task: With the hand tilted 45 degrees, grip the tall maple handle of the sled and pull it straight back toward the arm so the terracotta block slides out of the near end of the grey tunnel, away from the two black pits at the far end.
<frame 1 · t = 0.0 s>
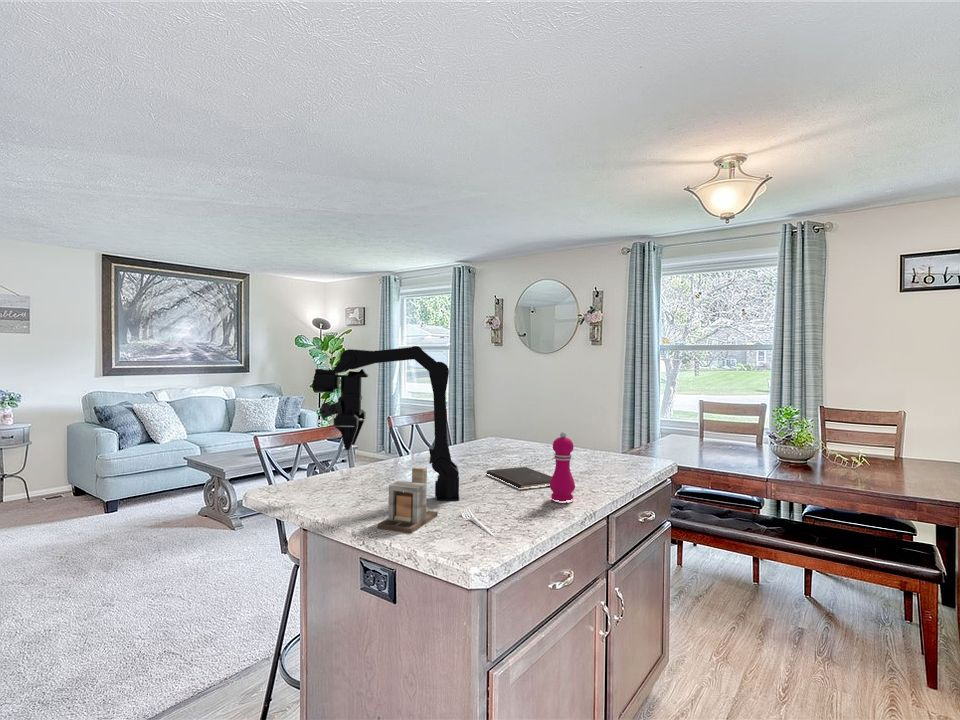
hand: (349, 447, 147), 15 cm above the worktop, tool pointing down, fingers open, 9 cm apart
sled: (412, 492, 129), point 7 cm above the worktop, slide at 0.0 cm
tunnel: (407, 522, 126), on the worktop
pepper mill: (562, 501, 149), on the worktop
fork: (479, 527, 126), on the worktop
hardcover book: (522, 482, 174), on the worktop
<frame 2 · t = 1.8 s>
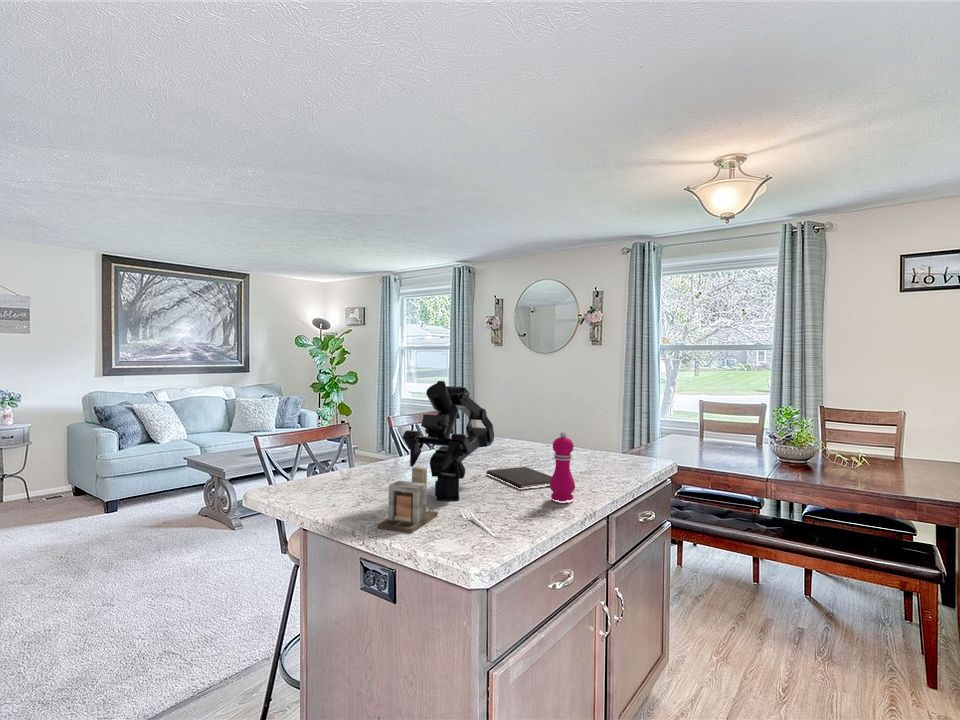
hand: (426, 467, 137), 11 cm above the worktop, tool tilted 45°, fingers open, 9 cm apart
nothing on the worktop moved.
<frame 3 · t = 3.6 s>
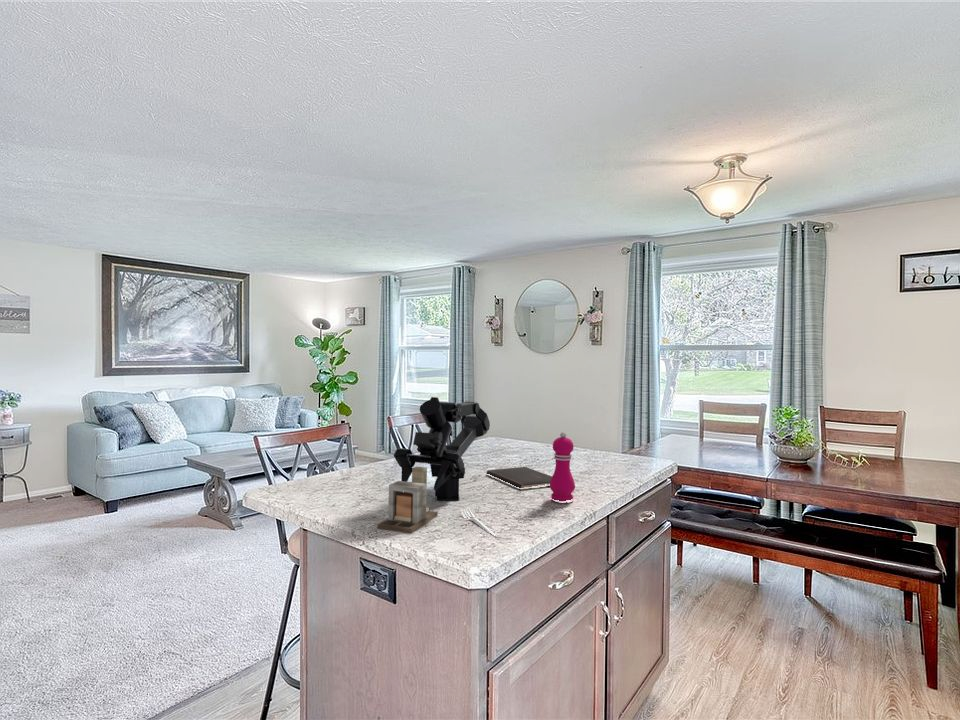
hand: (418, 487, 132), 7 cm above the worktop, tool tilted 45°, fingers open, 9 cm apart
nothing on the worktop moved.
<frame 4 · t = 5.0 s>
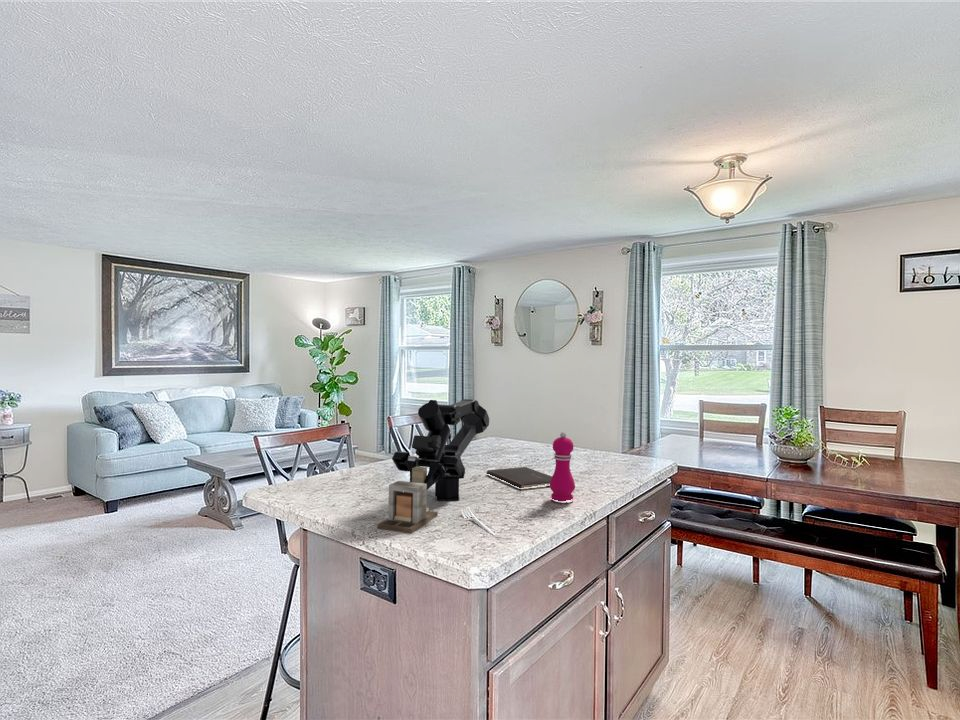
hand: (416, 491, 131), 7 cm above the worktop, tool tilted 45°, fingers closed on sled, 3 cm apart
sled: (412, 492, 129), point 7 cm above the worktop, slide at 0.0 cm, touching gripper
everything else where it was.
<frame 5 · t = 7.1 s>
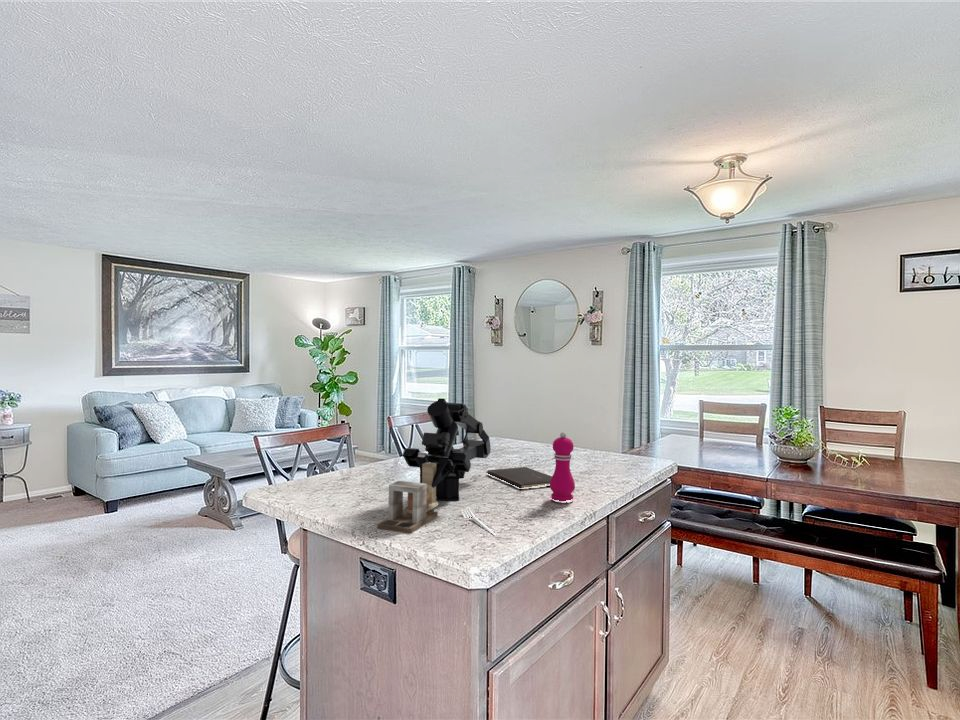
hand: (426, 486, 137), 7 cm above the worktop, tool tilted 45°, fingers closed on sled, 3 cm apart
sled: (422, 487, 134), point 7 cm above the worktop, slide at 5.9 cm, touching gripper
everything else where it was.
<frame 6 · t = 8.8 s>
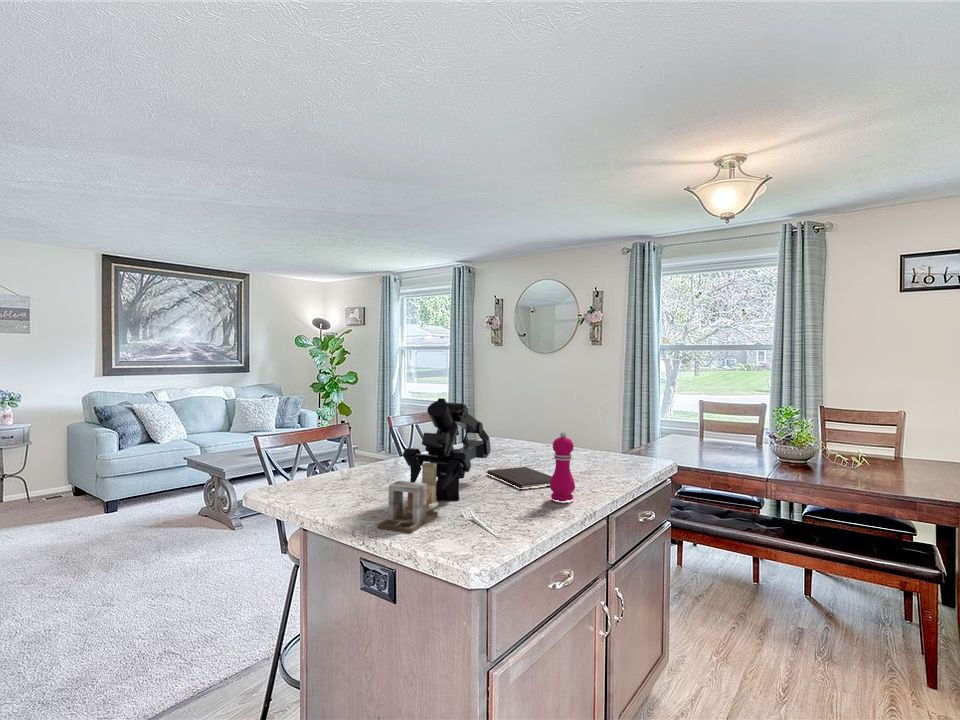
hand: (427, 486, 137), 7 cm above the worktop, tool tilted 45°, fingers open, 9 cm apart
sled: (422, 487, 134), point 7 cm above the worktop, slide at 5.9 cm
everything else where it was.
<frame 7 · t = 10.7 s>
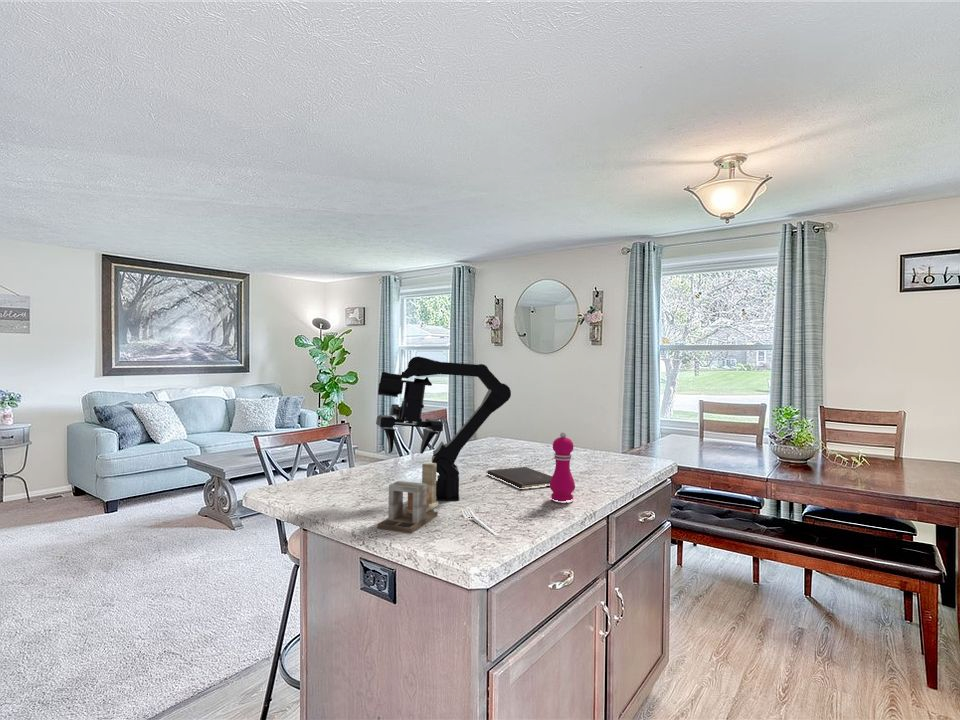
hand: (406, 452, 149), 13 cm above the worktop, tool pointing down, fingers open, 9 cm apart
nothing on the worktop moved.
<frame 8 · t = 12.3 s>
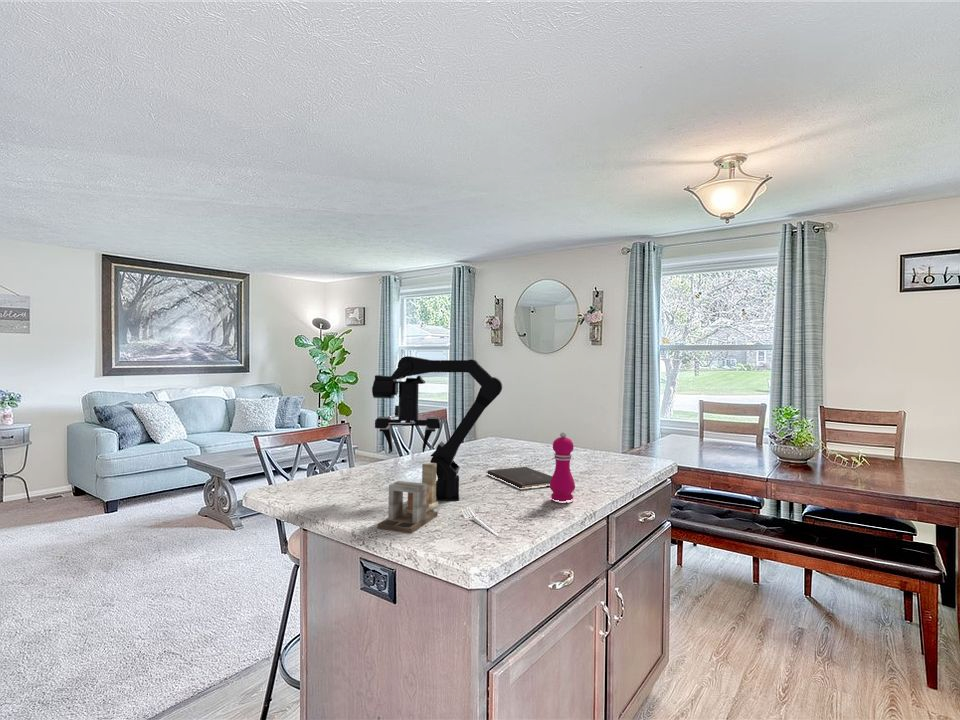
hand: (407, 452, 151), 13 cm above the worktop, tool pointing down, fingers open, 9 cm apart
nothing on the worktop moved.
at the end: sled slide at 5.9 cm; the gripper is holding nothing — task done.
